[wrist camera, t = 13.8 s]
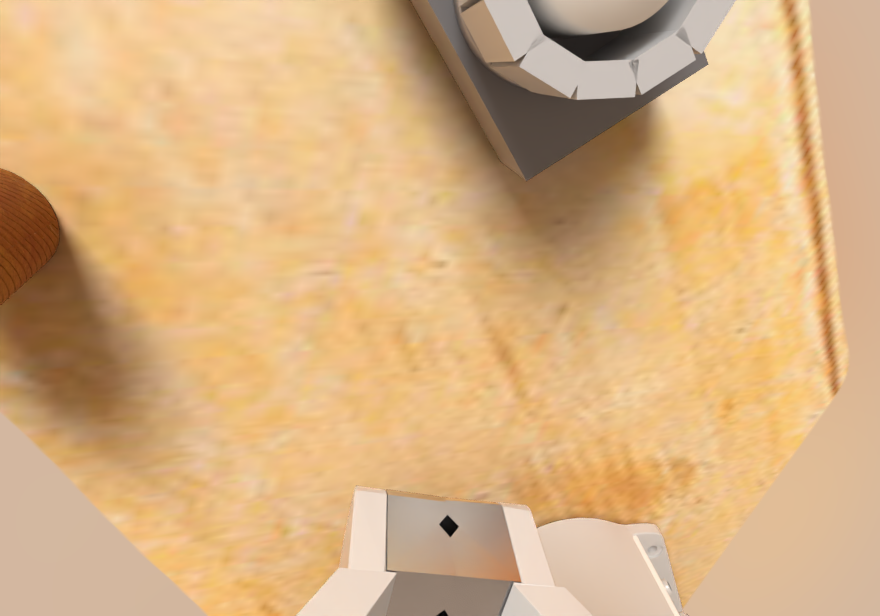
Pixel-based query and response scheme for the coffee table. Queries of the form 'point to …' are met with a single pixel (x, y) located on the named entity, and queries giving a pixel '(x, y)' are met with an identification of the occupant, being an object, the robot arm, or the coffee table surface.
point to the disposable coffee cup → (23, 232)
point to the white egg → (590, 15)
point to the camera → (562, 71)
